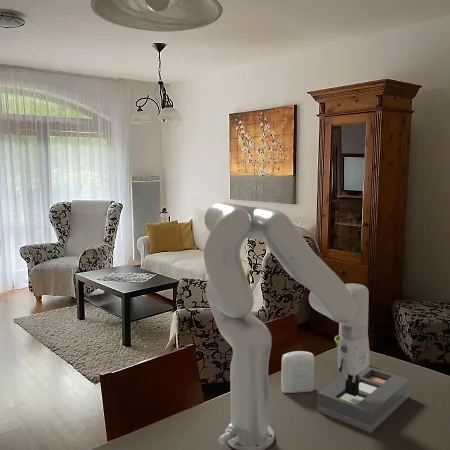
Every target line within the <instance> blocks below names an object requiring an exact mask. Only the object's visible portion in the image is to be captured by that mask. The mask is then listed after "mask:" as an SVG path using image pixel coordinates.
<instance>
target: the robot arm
mask: <svg viewBox="0 0 450 450" xmlns="http://www.w3.org/2000/svg"><path fill="white" fill-rule="evenodd" d="M204 225H205V228H206V229H207V231H209V233H208V236H207V239H206V242H205V246H204V248H203V249H204V250H203V261H204V265H205V268H206V271H207V274H208V277H209V279H208V280H207V282H206V285H205V295H206V299H207V302H208V305H209V308H210V310H211V313H212V315H213V318H214V321H215V324H216V326H217V329H218V331H219V333H220V334H221V336H222V337H223V339H224V340H225V341H226V342H227V343H228V344H229V345H230V347H231V348H232V357H231V361H230V366H229V367H230V369H229V370H230V372H229V380H230V423H228V426H227V428H225V432H224V433H223V434H221V435H220V436H218V438H217V441H218V443H219V444H220V445H221V446H223V445H225V444H226V443H227V444H228V446H230V447H231V448H232V449H235V450H266V449H268V448H269V447H271V445H272V444H273V443H274V440H275V431H274V429H272V427H271V426H270V425H269V361H270V354H271V349H272V341H273V340H272V334H271V332H270V329H269V328H268V327H267V325H266V324H265V323H264V321H263V322H262V320H260V319H259V318H258V317H257V316H255V315H254V314H252V313H251V311H252V310H253V307H254V304H255V300H254V293H253V291H252V288H251V286H250V283H249V280H248V277H247V275H246V272H245V269H244V266H243V262H242V258H241V249H242V246H243V243H244V242H245V240H246V239H252V240H253V239H255V240H259V241H261V242H263V243H264V244H265V245H266V247H267V248H268V250H269V251H270V252H271V253H272V255H273V256H274V257H275V259H276V260H277V262H278V263H279V264H280V265H281V267H282V268H283V270H284V271H285V272H286V273H287V274H288V275H289V276H290V277H291V278H293V279H294V280H295V281H296V282H297V283H299V284H301V285H302V286H304V287H305V288H307V290H309V291H310V292H309V295H308V302H309V305H310V306H311V308H312V309H314V310H315V311H317V312H318V313H320V314H321V315H324V316H326V317H327V318H328V319H330V320H332V321H334V322H336V323H338V326H339V327H338V335H340V339H339V347H338V349H337V371H338V372H339V373H340V377H341V379H344V380H346V385H345V392H346V393H347V394H350V395H352V396H357V395H358V394H359V381H358V380H359V379H360V372H362V371H363V370H364V369H366V368H367V367H370V343H369V341H370V339H369V335H368V334H369V332H368V331H369V299H370V298H369V296H370V295H369V294H370V292H369V289H368V287H367V286H365V285H363V284H360V283H352V282H351V283H344V281H343V280H342V279H341V278H340V277H339V276H338V275H337V274H336V272H335V271H333V269H331V267H329V265H327V264H326V262H324V260H322V259H321V258H320V257H319V256H318V255H317V254H316V253H315V251H314V250H313V249H312V248H311V246H310V245H309V243H308V242H307V241H306V240H305V238H304V237H303V235H302V234H301V232H300V231H299V230H298V229H297V227H296V226H295V224H294V223H293V222H292V220H291V219H290V218H289V217H288V216H287V214H285V213H284V212H283V211H280V210H277V209H272V208H267V207H256V206H248V205H241V204H234V203H228V202H216V203H213V204H212V205H211V206H209V207H208V208H207V210H206V212H205V215H204Z"/></svg>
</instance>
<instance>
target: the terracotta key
mask: <svg viewBox="0 0 450 450" xmlns="http://www.w3.org/2000/svg"><path fill="white" fill-rule="evenodd" d="M369 379H370V380H373V381H376V382H379V383H382V384H383V383H384V382H385V381H386V380H383V379H380V378H377V377H373V376H372V377H371V378H369Z"/></svg>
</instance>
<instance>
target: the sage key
mask: <svg viewBox="0 0 450 450" xmlns="http://www.w3.org/2000/svg"><path fill="white" fill-rule="evenodd" d="M340 399H342V400H345V401H348V402H350V403H353V404H356V405H357V404H358V403H360V402H361V401H362V400H363V399H364V398H363V397H360V396H352V395H350V394H347V393H345V394H344V395H342V396H341V397H340Z"/></svg>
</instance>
